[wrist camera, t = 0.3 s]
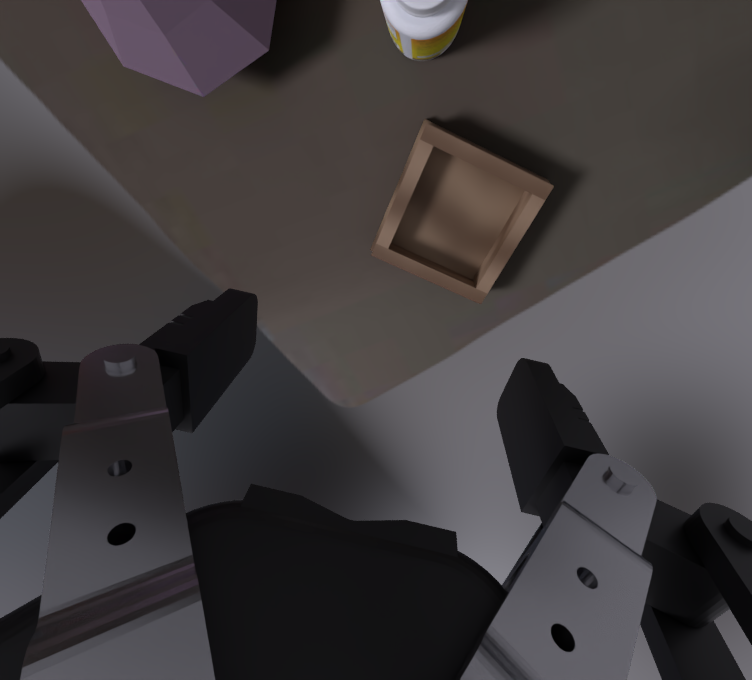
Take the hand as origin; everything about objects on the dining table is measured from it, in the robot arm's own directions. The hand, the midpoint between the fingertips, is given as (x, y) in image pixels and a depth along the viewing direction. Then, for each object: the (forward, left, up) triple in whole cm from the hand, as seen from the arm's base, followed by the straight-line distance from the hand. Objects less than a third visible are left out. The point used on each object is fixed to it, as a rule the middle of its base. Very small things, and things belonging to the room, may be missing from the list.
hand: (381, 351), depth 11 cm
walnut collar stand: (-1, +4, -27) cm, 27 cm away
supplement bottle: (-13, -5, -27) cm, 31 cm away
